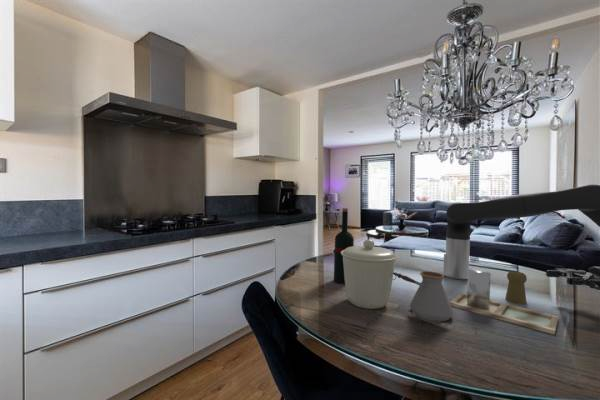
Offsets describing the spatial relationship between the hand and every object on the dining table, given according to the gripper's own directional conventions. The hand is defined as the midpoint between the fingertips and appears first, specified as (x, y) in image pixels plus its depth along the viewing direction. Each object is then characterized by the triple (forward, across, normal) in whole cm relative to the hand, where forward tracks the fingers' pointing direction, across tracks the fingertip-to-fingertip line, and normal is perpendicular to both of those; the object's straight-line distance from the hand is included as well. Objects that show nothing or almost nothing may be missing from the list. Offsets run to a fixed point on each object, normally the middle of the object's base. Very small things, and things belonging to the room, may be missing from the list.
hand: (556, 277), depth 92 cm
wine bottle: (+68, -15, +9) cm, 70 cm away
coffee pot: (+49, +17, +10) cm, 53 cm away
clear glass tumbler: (+28, +6, +8) cm, 30 cm away
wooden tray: (+23, +10, +10) cm, 27 cm away
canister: (+62, +6, +9) cm, 63 cm away
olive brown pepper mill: (+12, 0, +10) cm, 16 cm away
